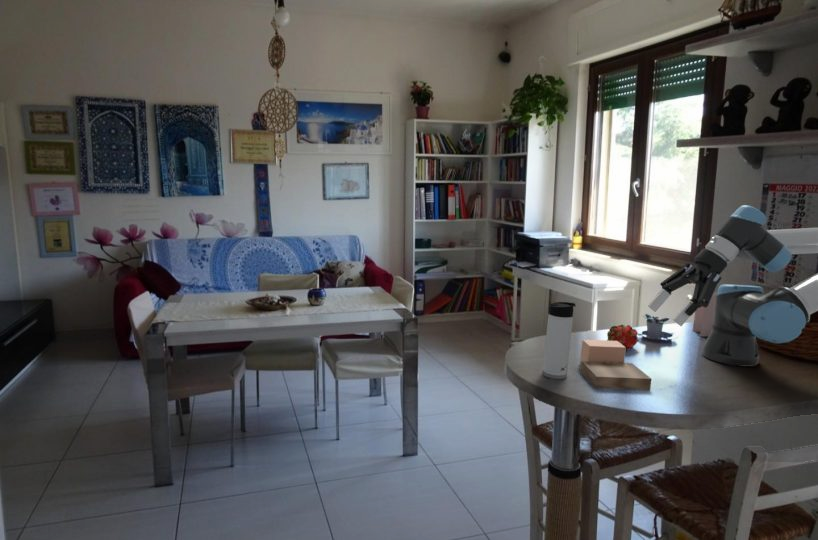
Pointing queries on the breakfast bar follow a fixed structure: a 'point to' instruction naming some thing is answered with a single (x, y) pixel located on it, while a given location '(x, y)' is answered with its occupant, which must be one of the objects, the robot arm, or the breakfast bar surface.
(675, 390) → the breakfast bar surface
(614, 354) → the block
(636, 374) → the brown wooden board
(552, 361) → the travel mug
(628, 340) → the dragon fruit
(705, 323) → the greeting card
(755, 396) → the breakfast bar surface
